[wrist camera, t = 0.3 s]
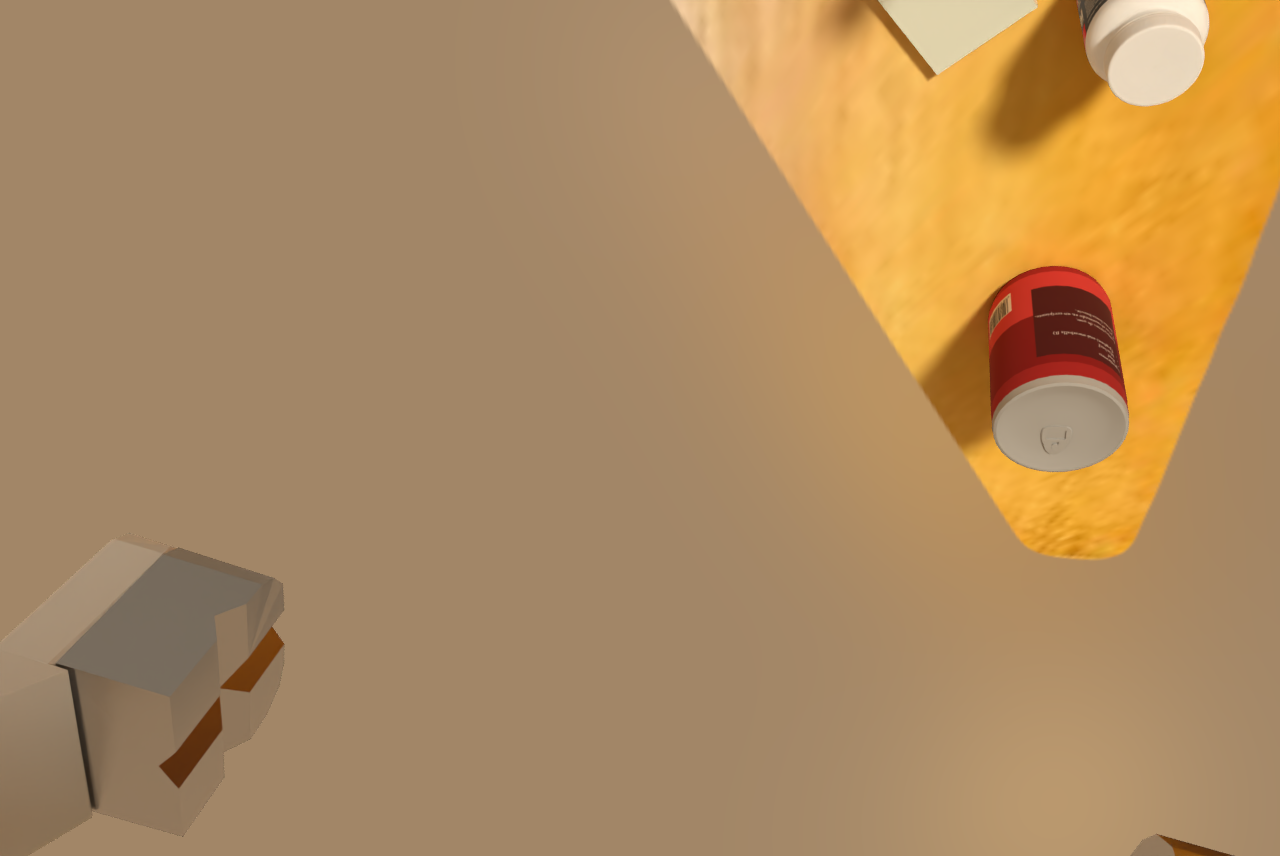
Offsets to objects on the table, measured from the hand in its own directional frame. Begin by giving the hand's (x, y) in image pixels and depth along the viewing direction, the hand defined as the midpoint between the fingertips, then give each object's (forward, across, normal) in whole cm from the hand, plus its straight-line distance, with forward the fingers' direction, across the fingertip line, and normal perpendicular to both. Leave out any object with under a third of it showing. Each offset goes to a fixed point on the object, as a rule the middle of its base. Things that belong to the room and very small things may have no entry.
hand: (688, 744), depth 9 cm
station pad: (+53, -6, -1) cm, 54 cm away
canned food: (+60, -19, +17) cm, 65 cm away
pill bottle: (+53, -14, -3) cm, 55 cm away
